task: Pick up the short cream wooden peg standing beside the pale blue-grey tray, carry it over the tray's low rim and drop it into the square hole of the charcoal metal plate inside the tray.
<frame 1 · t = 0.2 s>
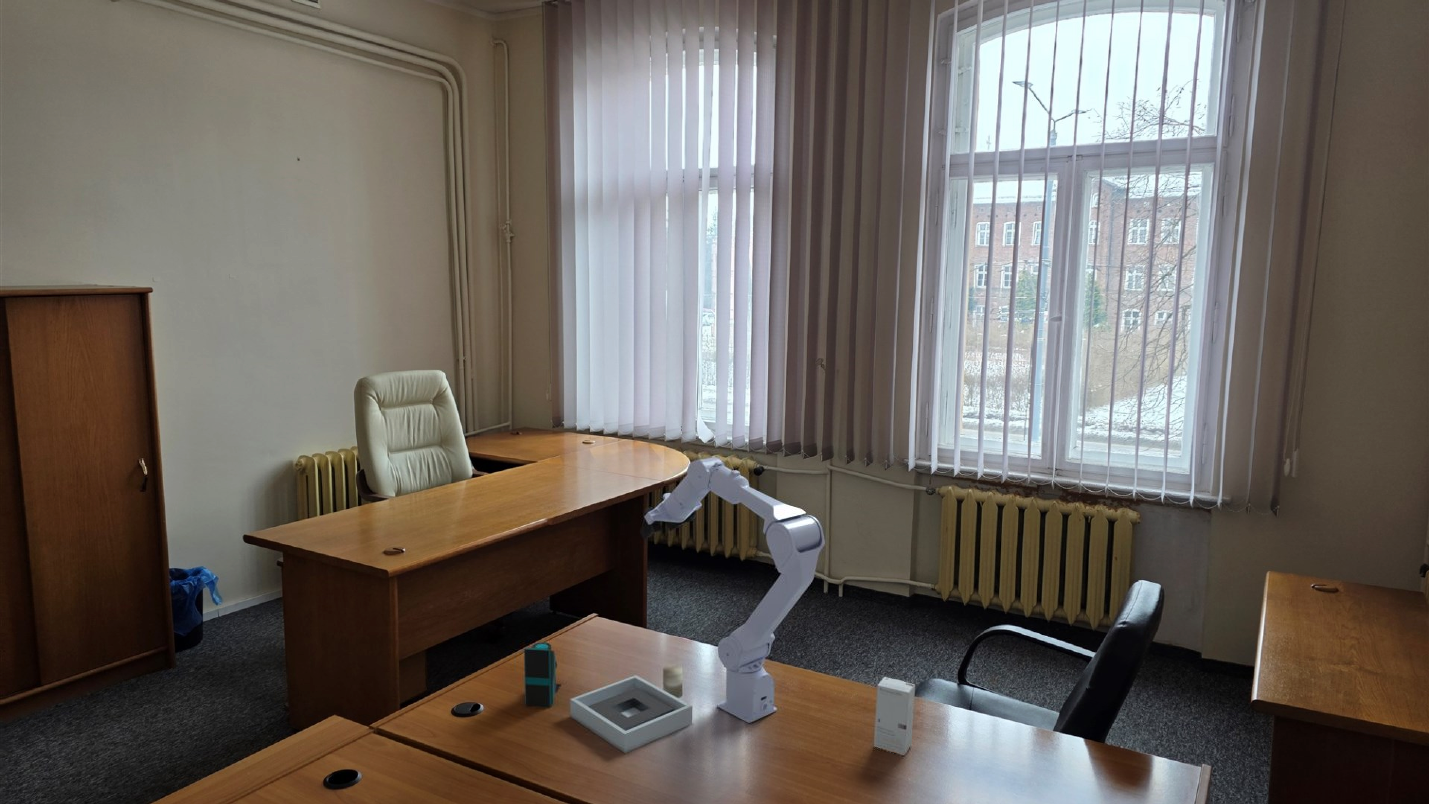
hand: (656, 531, 184), 31 cm above the table, tool tilted 45°, fingers open, 7 cm apart
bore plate: (630, 712, 162), in the tray, point 1 cm above the table
skincare box: (893, 748, 153), on the table
tray: (630, 720, 162), on the table
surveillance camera: (545, 696, 172), on the table
peg: (672, 694, 173), on the table
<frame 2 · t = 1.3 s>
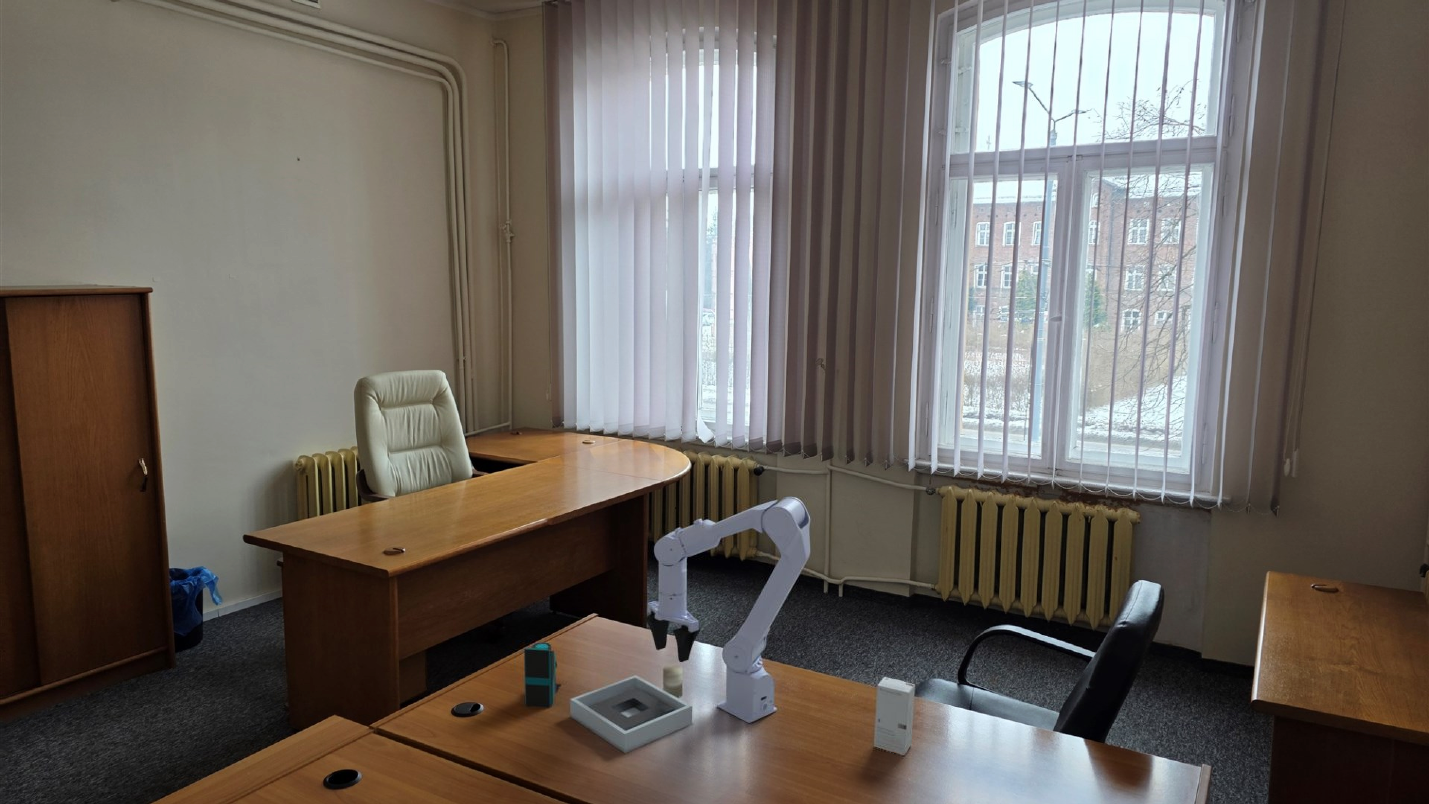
hand: (672, 654, 172), 9 cm above the table, tool pointing down, fingers open, 7 cm apart
nothing on the table moved.
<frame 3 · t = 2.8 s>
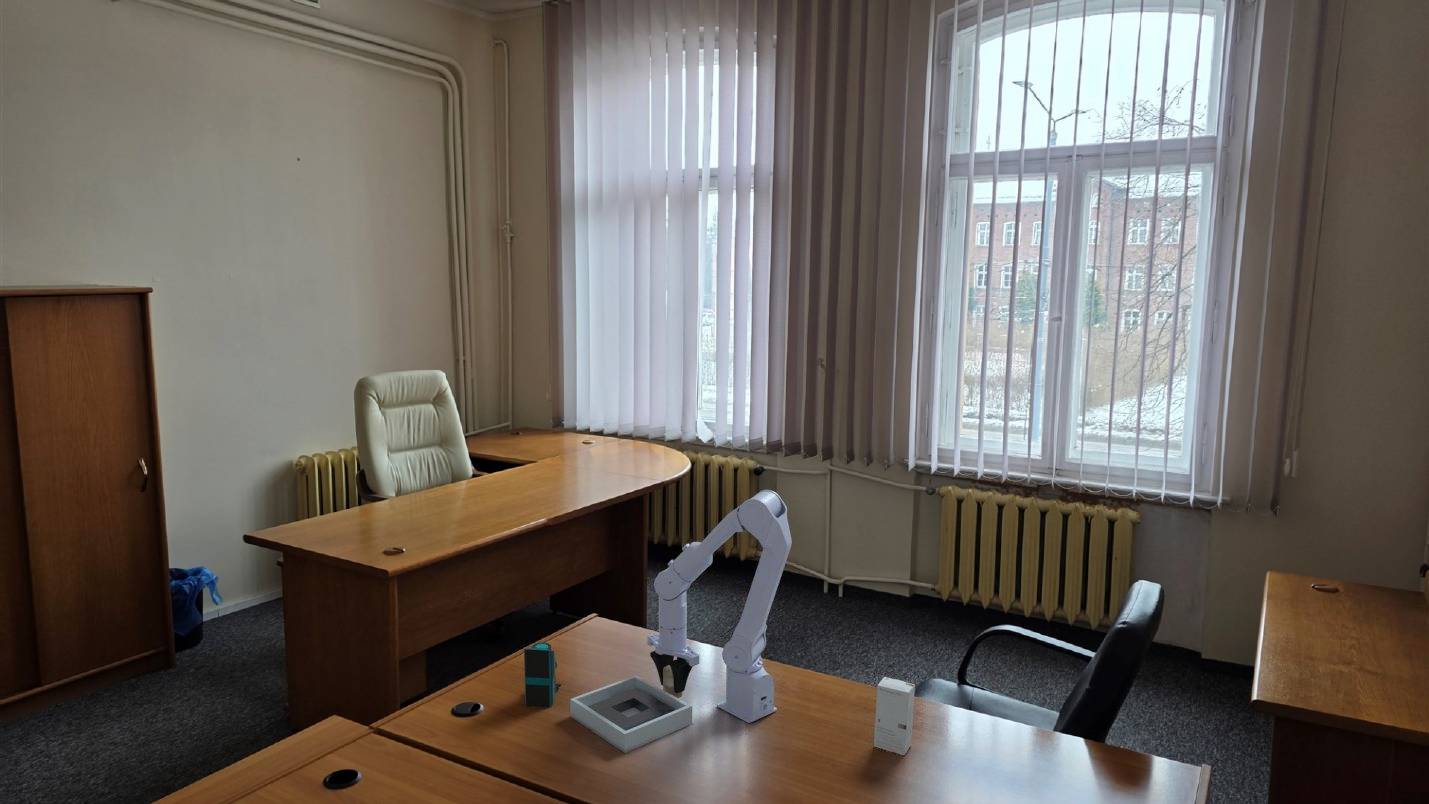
hand: (672, 687, 173), 1 cm above the table, tool pointing down, fingers closed on peg, 4 cm apart
peg: (672, 694, 173), on the table, touching gripper
everything else where it was.
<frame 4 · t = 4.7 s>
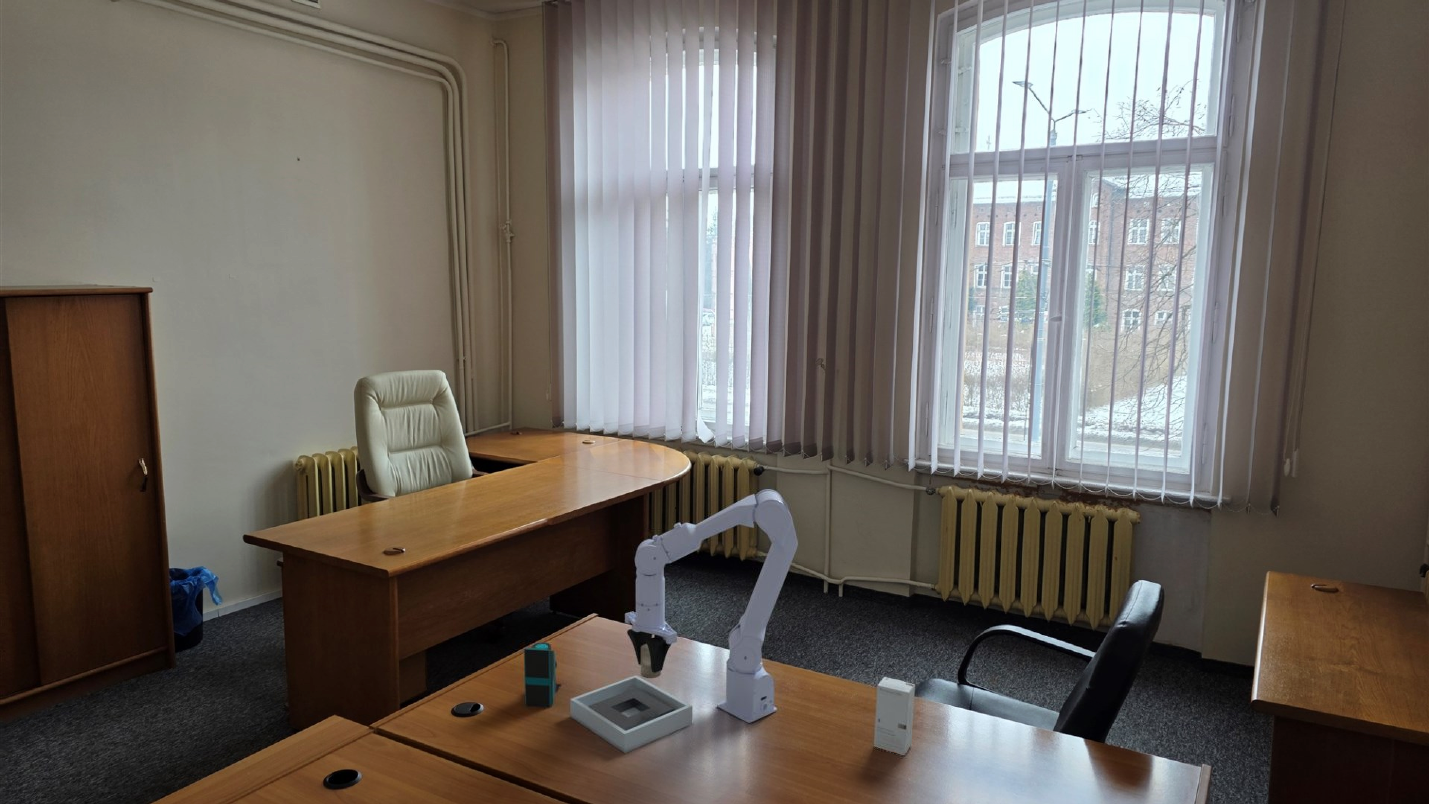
hand: (650, 667, 166), 8 cm above the table, tool pointing down, fingers closed on peg, 4 cm apart
peg: (650, 673, 166), point 7 cm above the table, touching gripper
everything else where it was.
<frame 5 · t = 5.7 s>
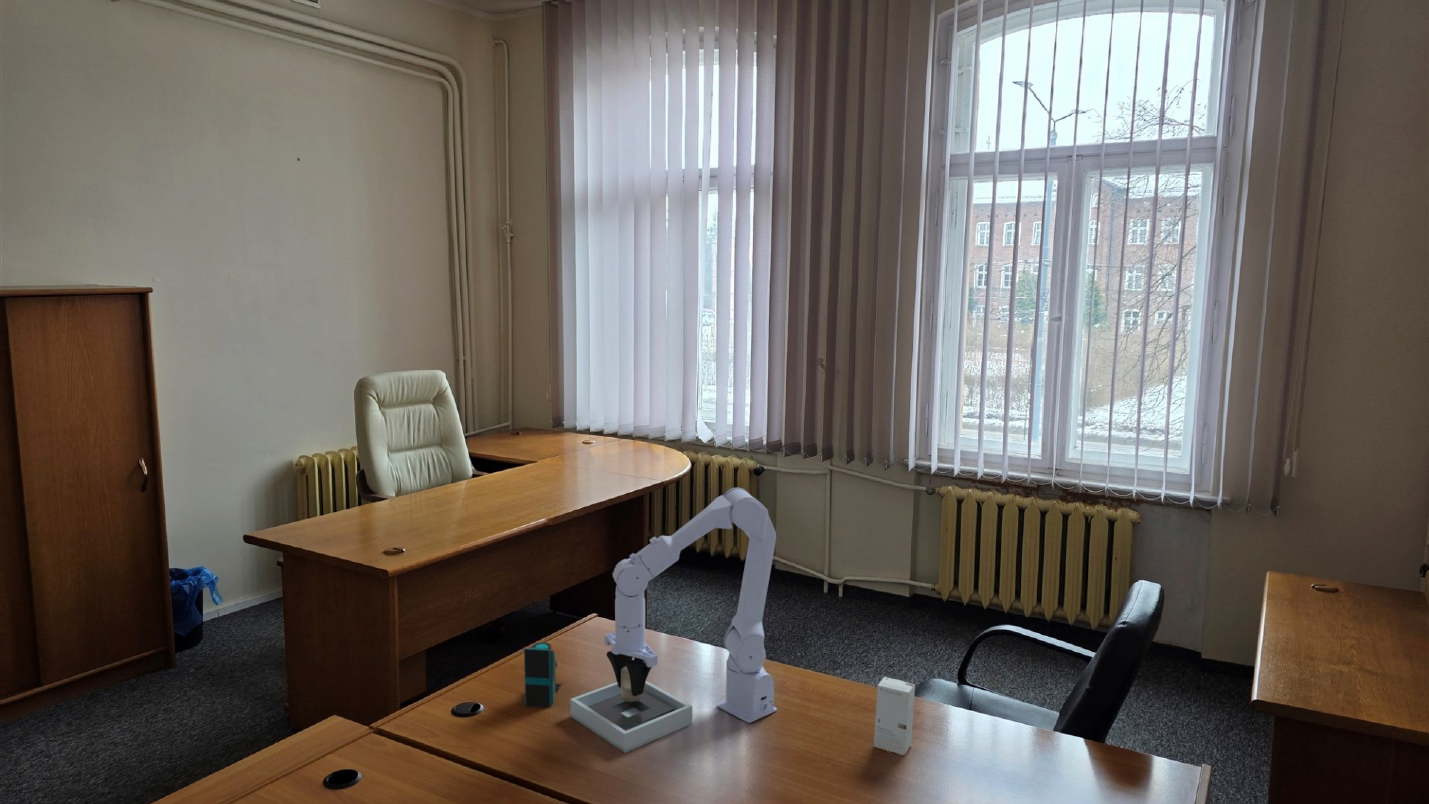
hand: (630, 690, 161), 6 cm above the table, tool pointing down, fingers closed on peg, 4 cm apart
peg: (631, 697, 162), point 5 cm above the table, touching gripper
everything else where it was.
when the fingers open (3 cm above the table, at t = 6.7 s): peg drops 1 cm, resting on tray.
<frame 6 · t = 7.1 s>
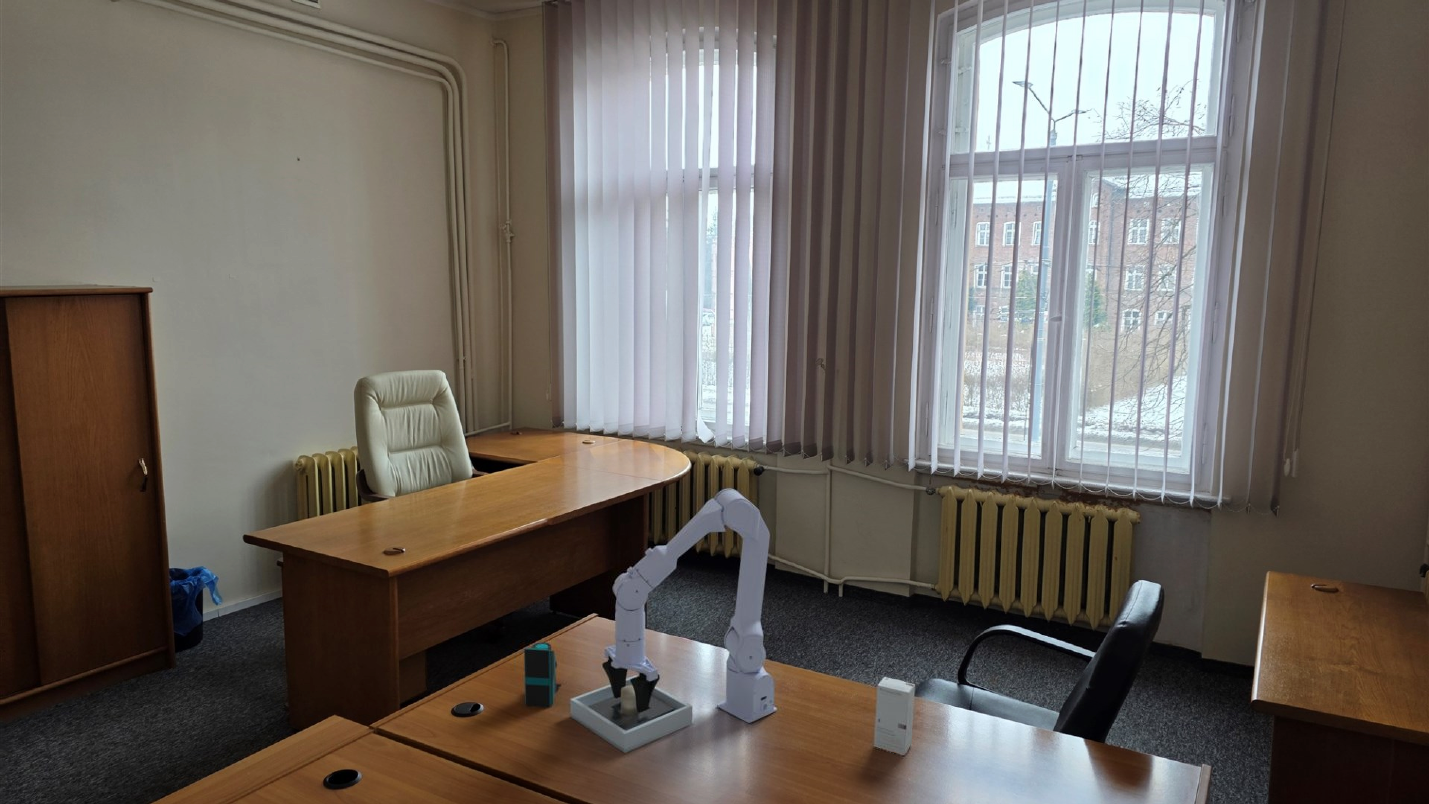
hand: (630, 703, 162), 3 cm above the table, tool pointing down, fingers open, 7 cm apart
peg: (631, 716, 162), point 1 cm above the table, touching tray
everything else where it was.
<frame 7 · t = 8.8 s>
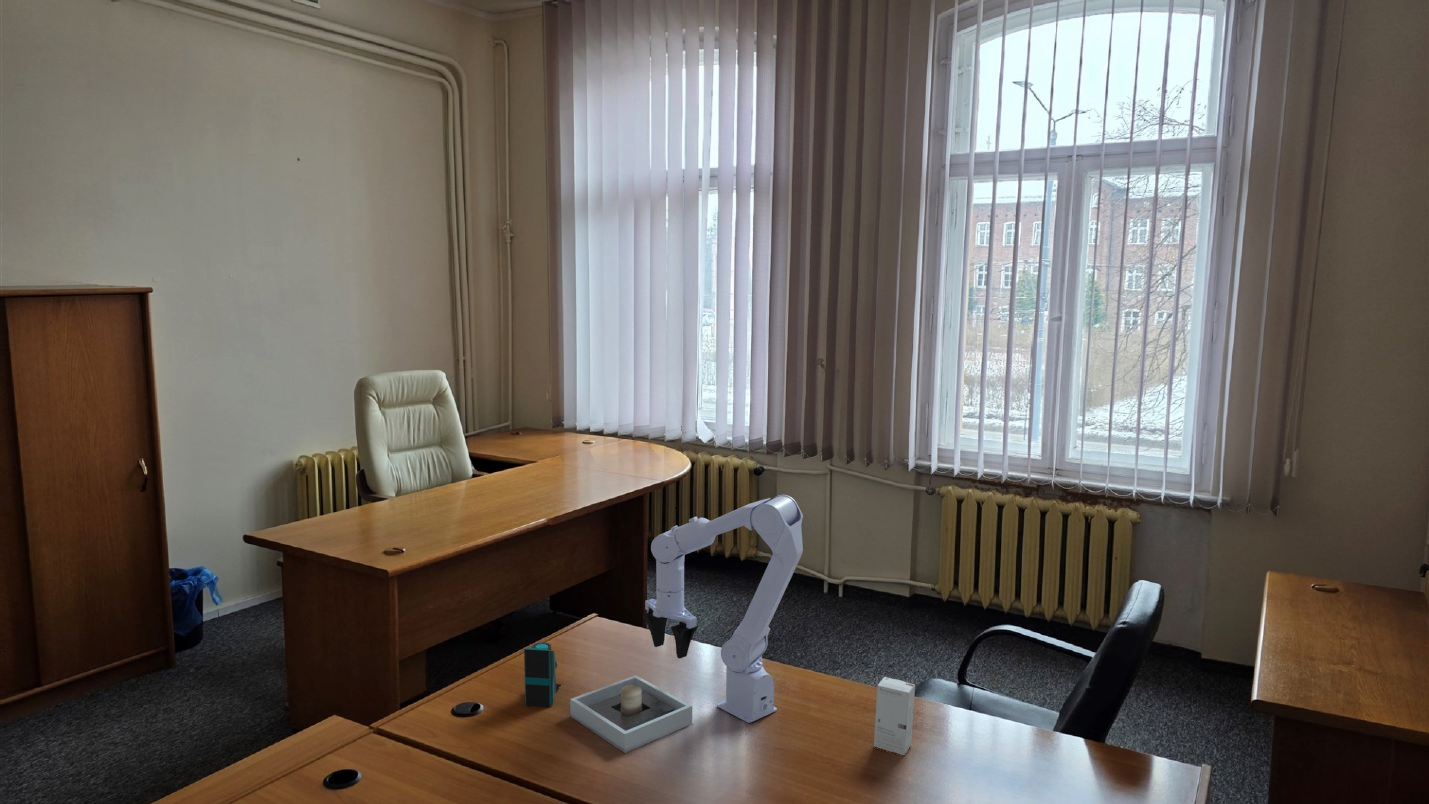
hand: (670, 651, 174), 8 cm above the table, tool pointing down, fingers open, 7 cm apart
nothing on the table moved.
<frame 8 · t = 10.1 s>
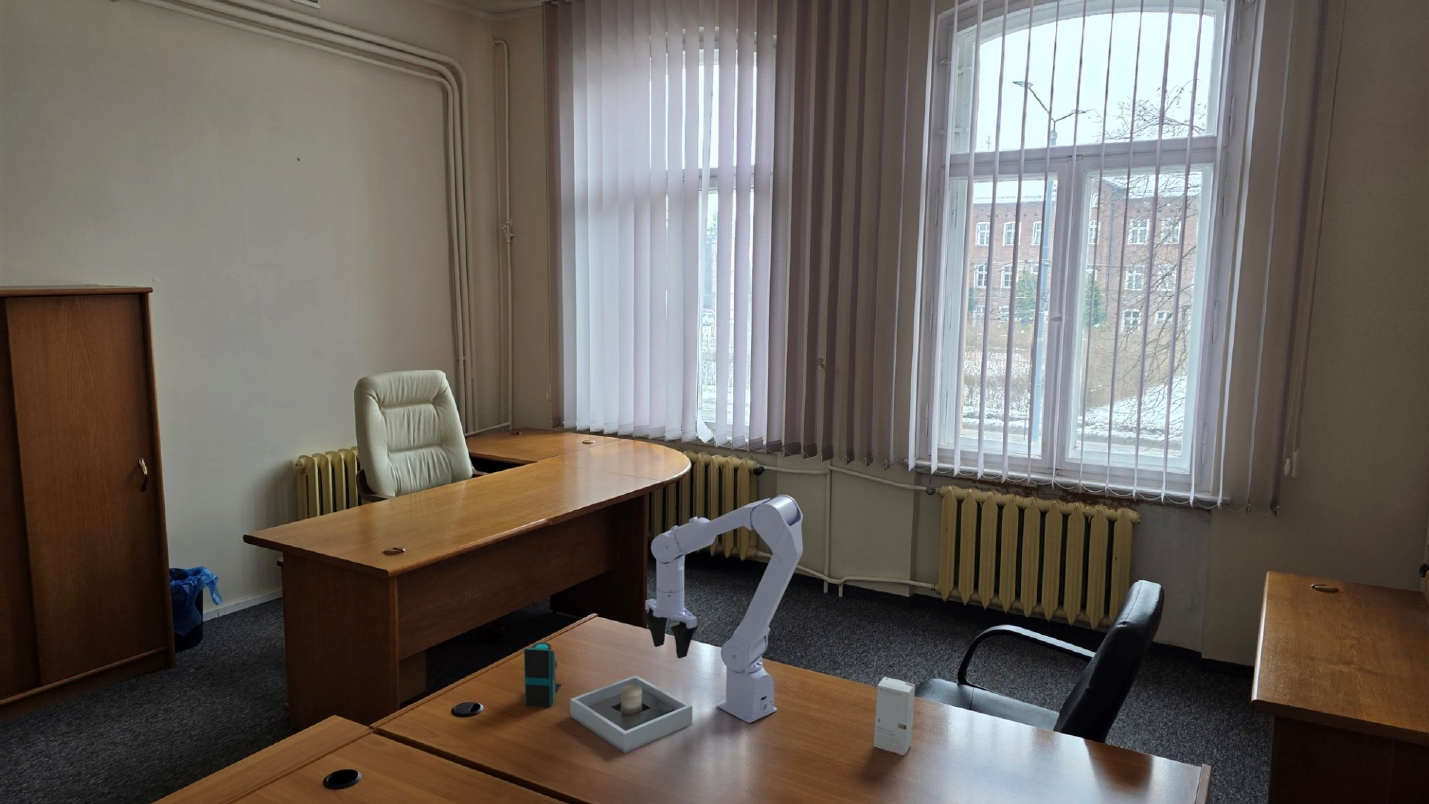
hand: (670, 651, 174), 8 cm above the table, tool pointing down, fingers open, 7 cm apart
nothing on the table moved.
at the end: peg 0.1 cm off-centre on the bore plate, point 0.6 cm above the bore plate's base; peg tilted 1°; the gripper is holding nothing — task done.
